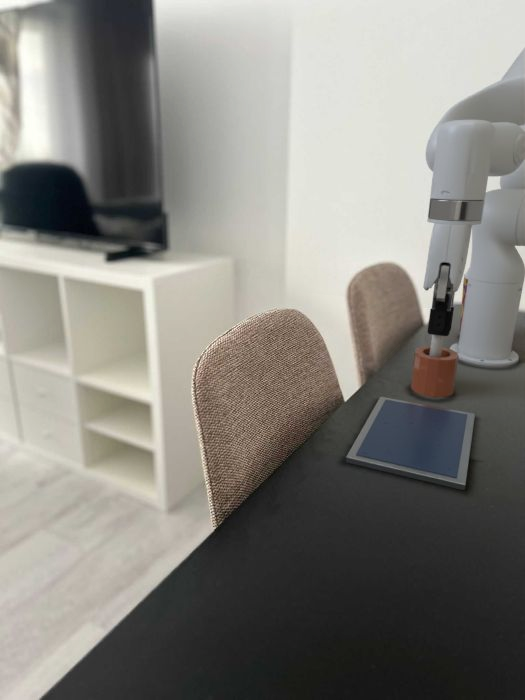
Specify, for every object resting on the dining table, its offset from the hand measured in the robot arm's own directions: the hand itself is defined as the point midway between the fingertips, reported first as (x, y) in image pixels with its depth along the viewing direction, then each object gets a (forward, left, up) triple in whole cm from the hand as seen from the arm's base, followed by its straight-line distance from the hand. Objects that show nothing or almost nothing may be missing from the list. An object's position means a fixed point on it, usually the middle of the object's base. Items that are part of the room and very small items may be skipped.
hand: (439, 331), depth 81 cm
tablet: (+17, 0, -11) cm, 20 cm away
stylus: (0, 0, -8) cm, 9 cm away
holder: (0, 0, -11) cm, 11 cm away
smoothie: (-34, +5, -11) cm, 36 cm away
